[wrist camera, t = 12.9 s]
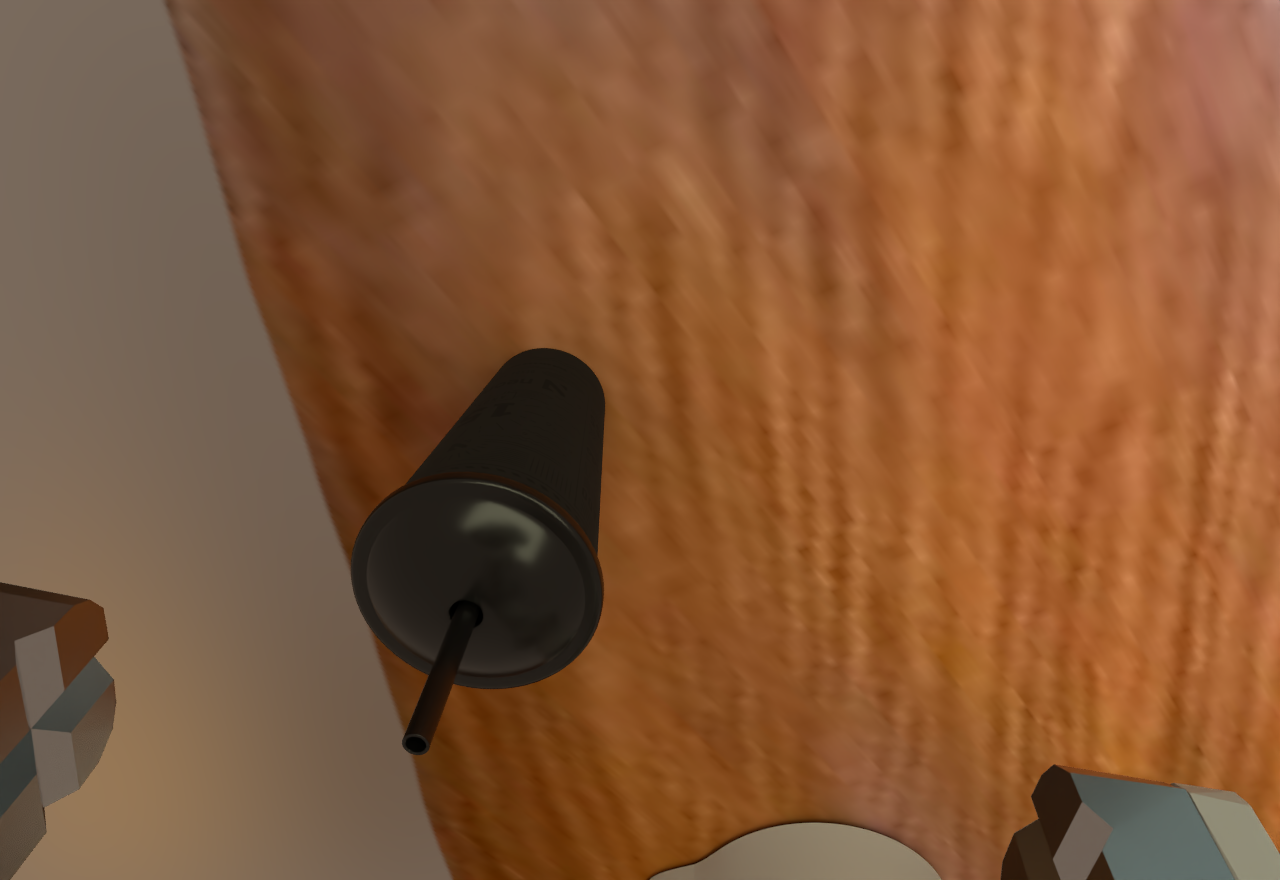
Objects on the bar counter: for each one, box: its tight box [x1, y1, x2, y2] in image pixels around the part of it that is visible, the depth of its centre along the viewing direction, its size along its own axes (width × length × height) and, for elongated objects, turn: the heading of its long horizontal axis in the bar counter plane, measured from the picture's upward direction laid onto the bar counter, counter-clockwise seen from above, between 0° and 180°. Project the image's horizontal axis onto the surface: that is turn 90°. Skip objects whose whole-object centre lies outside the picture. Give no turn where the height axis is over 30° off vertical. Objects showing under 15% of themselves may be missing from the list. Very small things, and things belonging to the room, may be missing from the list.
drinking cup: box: [351, 348, 605, 755], centre depth 33 cm, size 8×8×20 cm
